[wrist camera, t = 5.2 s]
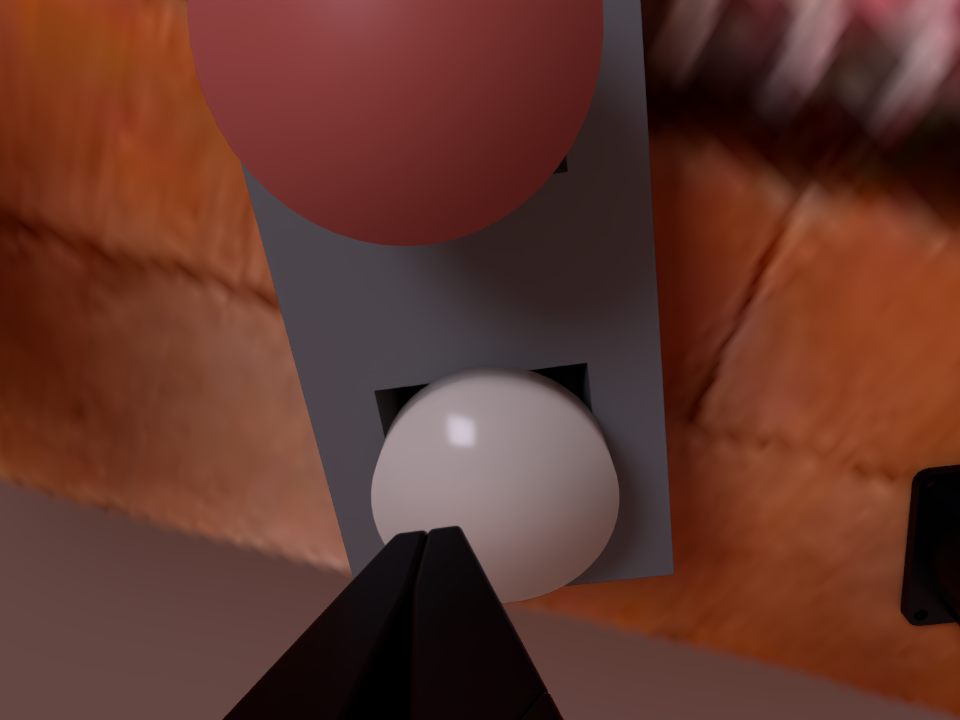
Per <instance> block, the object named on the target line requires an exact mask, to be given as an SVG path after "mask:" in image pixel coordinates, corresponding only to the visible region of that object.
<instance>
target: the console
mask: <svg viewBox="0 0 960 720" xmlns="http://www.w3.org/2000/svg"><path fill="white" fill-rule="evenodd" d="M603 33H604V35H603V45H602V55H601V65H600V69H599V74H598V78H597V83H596V87H595V92H594V95H593V98H592V101H591V104H590V106H589V109H588V112H587V115H586V118H585V121H584V123H583V125H582V127H581V129H580V131H579V133H578V135H577V137H576V139H575V141H574V143H573V145H572V146H571V148H570V149H569V151H568V152H567V154H566V156H565V157H564V159H563V160H562V162H561V163H560V165H559V166H558V168H557V169H556V170H555V171H554V172H553V174H552V175H551V176H550V177H549V178H548V179H547V181H546V182H545V183H544V184H543V185H542V186H541V188H540V189H538V190H537V191H536V192H535V193H534V194H533V195H532V196H531V197H530V198H529V199H527V200H526V201H525V202H524V203H523V204H522V205H521V206H519V207H518V208H516V209H515V210H513V211H512V212H511V213H509V214H508V215H506V216H505V217H503V218H502V219H501V220H499V221H497V222H495V223H493V224H491V225H489V226H487V227H485V228H483V229H481V230H479V231H477V232H474V233H471V234H468V235H466V236H463V237H460V238H457V239H454V240H449V241H445V242H440V243H435V244H429V245H417V246H392V245H380V244H375V243H369V242H364V241H358V240H355V239H352V238H349V237H346V236H343V235H339V234H336V233H334V232H332V231H329V230H327V229H325V228H323V227H321V226H319V225H316V224H314V223H312V222H310V221H309V220H307V219H306V218H304V217H302V216H301V215H299V214H297V213H296V212H294V211H293V210H291V209H290V208H288V207H287V206H286V205H285V204H283V203H282V202H281V201H280V200H278V199H277V198H276V197H274V196H273V195H272V194H271V193H270V192H269V191H268V190H267V189H266V188H265V187H264V186H263V185H262V184H261V183H260V182H259V181H258V180H257V179H256V178H255V177H254V176H253V175H252V174H251V173H250V172H249V171H248V170H247V168H246V167H245V166H244V164H243V163H242V162H241V165H242V168H243V172H244V176H245V180H246V183H247V187H248V191H249V194H250V198H251V202H252V205H253V209H254V213H255V217H256V220H257V224H258V228H259V231H260V235H261V239H262V242H263V246H264V250H265V253H266V257H267V261H268V265H269V268H270V272H271V276H272V279H273V283H274V287H275V290H276V294H277V298H278V301H279V305H280V309H281V313H282V316H283V320H284V324H285V327H286V331H287V335H288V338H289V342H290V346H291V350H292V353H293V357H294V361H295V364H296V368H297V372H298V375H299V379H300V383H301V386H302V390H303V394H304V398H305V401H306V405H307V409H308V412H309V416H310V420H311V423H312V427H313V431H314V435H315V438H316V442H317V446H318V449H319V453H320V457H321V460H322V464H323V468H324V471H325V475H326V479H327V483H328V486H329V490H330V494H331V497H332V501H333V505H334V508H335V512H336V516H337V520H338V523H339V527H340V531H341V534H342V538H343V542H344V545H345V549H346V553H347V556H348V560H349V564H350V568H351V571H352V575H353V579H354V578H355V577H356V576H357V575H358V574H359V573H360V572H361V571H362V570H363V569H364V568H365V567H366V566H367V564H368V563H369V562H370V561H371V560H372V559H373V558H374V557H375V556H376V555H377V554H378V553H379V552H380V551H381V550H382V548H383V547H384V546H385V544H384V542H383V540H382V538H381V536H380V534H379V532H378V530H377V527H376V524H375V521H374V517H373V511H372V505H371V488H372V481H373V475H374V472H375V468H376V465H377V462H378V459H379V456H380V453H381V450H382V447H383V444H384V441H385V438H386V435H387V432H388V430H389V428H390V426H391V424H392V422H393V420H394V419H395V417H396V416H397V414H398V413H399V411H400V410H401V408H402V407H403V406H404V405H405V404H406V403H407V402H408V401H409V399H410V398H412V397H413V396H414V395H415V394H416V393H417V392H419V391H420V390H421V389H423V388H424V387H426V386H427V385H429V384H430V383H432V382H433V381H435V380H438V379H440V378H442V377H444V376H446V375H448V374H451V373H454V372H457V371H461V370H465V369H470V368H475V367H484V366H506V367H514V368H520V369H525V370H535V369H542V368H550V367H551V369H552V370H553V372H554V373H555V374H556V376H557V378H558V380H559V382H560V384H561V385H562V386H564V387H566V388H567V389H568V390H570V391H571V392H572V393H573V394H575V395H576V396H577V397H578V398H579V399H580V400H581V401H582V402H583V403H584V404H585V405H586V406H587V407H588V408H589V410H590V411H591V413H592V414H593V416H594V417H595V418H596V420H597V422H598V424H599V426H600V428H601V430H602V432H603V435H604V438H605V441H606V444H607V447H608V450H609V453H610V456H611V459H612V462H613V465H614V468H615V471H616V474H617V480H618V486H619V509H618V516H617V520H616V523H615V527H614V530H613V532H612V534H611V537H610V539H609V541H608V543H607V545H606V546H605V548H604V549H603V551H602V552H601V554H600V555H599V556H598V558H597V559H596V560H595V561H594V562H593V563H592V564H591V566H590V567H588V568H587V569H586V570H585V571H584V572H583V573H582V574H581V575H579V576H578V577H576V578H575V579H574V580H572V581H571V582H569V583H568V584H566V585H564V586H569V585H578V584H588V583H597V582H607V581H616V580H625V579H635V578H644V577H654V576H663V575H672V574H674V566H673V548H672V531H671V514H670V497H669V480H668V463H667V446H666V429H665V412H664V395H663V378H662V361H661V343H660V326H659V309H658V292H657V275H656V258H655V241H654V224H653V207H652V190H651V173H650V156H649V138H648V121H647V104H646V87H645V70H644V53H643V36H642V19H641V2H640V0H603Z"/></svg>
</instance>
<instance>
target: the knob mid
mask: <svg viewBox="0 0 960 720" xmlns="http://www.w3.org/2000/svg"><path fill="white" fill-rule="evenodd" d="M188 24H189V34H190V44H191V49H192V54H193V58H194V63H195V67H196V72H197V76H198V79H199V81H200V84H201V87H202V90H203V93H204V96H205V99H206V102H207V104H208V106H209V108H210V110H211V113H212V115H213V117H214V119H215V121H216V123H217V125H218V127H219V129H220V131H221V132H222V134H223V136H224V137H225V139H226V140H227V142H228V144H229V145H230V147H231V148H232V150H233V152H234V153H235V154H236V156H237V157H238V158H239V159H240V161H241V162H242V163H243V164H244V166H245V167H246V168H247V170H248V171H249V172H250V173H251V174H252V175H253V176H254V177H255V178H256V179H257V180H258V181H259V182H260V183H261V184H262V185H263V186H264V187H265V188H266V189H267V190H268V191H269V192H270V193H271V194H272V195H273V196H274V197H276V198H277V199H278V200H280V201H281V202H282V203H283V204H285V205H286V206H287V207H288V208H290V209H291V210H293V211H294V212H296V213H297V214H299V215H301V216H302V217H304V218H306V219H307V220H309V221H310V222H312V223H314V224H316V225H319V226H321V227H323V228H325V229H327V230H329V231H332V232H334V233H336V234H339V235H343V236H346V237H349V238H352V239H355V240H358V241H364V242H369V243H375V244H380V245H392V246H417V245H429V244H435V243H440V242H445V241H449V240H454V239H457V238H460V237H463V236H466V235H468V234H471V233H474V232H477V231H479V230H481V229H483V228H485V227H487V226H489V225H491V224H493V223H495V222H497V221H499V220H501V219H502V218H503V217H505V216H506V215H508V214H509V213H511V212H512V211H513V210H515V209H516V208H518V207H519V206H521V205H522V204H523V203H524V202H525V201H526V200H527V199H529V198H530V197H531V196H532V195H533V194H534V193H535V192H536V191H537V190H538V189H540V188H541V186H542V185H543V184H544V183H545V182H546V181H547V179H548V178H549V177H550V176H551V175H552V174H553V172H554V171H555V170H556V169H557V168H558V166H559V165H560V163H561V162H562V160H563V159H564V157H565V156H566V154H567V152H568V151H569V149H570V148H571V146H572V145H573V143H574V141H575V139H576V137H577V135H578V133H579V131H580V129H581V127H582V125H583V123H584V121H585V118H586V115H587V112H588V109H589V106H590V104H591V101H592V98H593V95H594V92H595V87H596V83H597V78H598V74H599V69H600V65H601V55H602V45H603V35H604V33H603V0H188Z"/></svg>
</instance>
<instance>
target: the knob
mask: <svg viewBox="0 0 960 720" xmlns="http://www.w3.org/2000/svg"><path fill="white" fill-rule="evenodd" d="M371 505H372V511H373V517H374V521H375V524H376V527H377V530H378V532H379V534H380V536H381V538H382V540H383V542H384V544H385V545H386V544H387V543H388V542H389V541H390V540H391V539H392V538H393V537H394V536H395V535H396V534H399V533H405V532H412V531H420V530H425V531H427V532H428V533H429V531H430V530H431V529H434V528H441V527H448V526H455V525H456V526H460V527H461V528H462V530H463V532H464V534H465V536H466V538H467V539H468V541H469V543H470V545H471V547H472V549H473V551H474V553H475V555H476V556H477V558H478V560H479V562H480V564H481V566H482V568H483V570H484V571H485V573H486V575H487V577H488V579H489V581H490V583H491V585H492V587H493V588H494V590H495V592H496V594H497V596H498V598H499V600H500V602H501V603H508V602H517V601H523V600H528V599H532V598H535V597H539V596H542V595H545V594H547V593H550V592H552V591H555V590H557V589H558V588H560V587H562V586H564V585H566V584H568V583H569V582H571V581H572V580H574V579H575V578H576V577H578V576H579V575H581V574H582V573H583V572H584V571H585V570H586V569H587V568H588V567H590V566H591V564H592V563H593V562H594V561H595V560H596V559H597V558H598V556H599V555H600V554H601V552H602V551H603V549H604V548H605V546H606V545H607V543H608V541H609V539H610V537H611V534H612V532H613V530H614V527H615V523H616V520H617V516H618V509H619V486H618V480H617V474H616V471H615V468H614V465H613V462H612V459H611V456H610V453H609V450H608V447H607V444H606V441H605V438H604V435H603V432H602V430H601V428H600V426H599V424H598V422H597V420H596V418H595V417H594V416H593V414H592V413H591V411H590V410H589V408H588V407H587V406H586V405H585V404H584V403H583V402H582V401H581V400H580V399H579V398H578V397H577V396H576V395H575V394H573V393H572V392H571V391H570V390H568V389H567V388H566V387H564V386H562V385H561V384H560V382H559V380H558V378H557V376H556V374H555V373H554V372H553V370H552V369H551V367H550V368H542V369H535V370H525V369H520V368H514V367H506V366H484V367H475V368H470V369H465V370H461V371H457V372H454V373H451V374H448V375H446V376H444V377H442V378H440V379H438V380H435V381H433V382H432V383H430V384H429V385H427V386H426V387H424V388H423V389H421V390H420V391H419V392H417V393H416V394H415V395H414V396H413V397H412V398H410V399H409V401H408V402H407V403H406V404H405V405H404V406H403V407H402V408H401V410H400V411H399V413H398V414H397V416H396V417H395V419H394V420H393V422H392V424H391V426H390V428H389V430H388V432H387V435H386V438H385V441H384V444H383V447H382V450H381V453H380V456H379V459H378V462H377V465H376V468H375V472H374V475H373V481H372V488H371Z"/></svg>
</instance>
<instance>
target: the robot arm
mask: <svg viewBox="0 0 960 720" xmlns="http://www.w3.org/2000/svg"><path fill="white" fill-rule="evenodd" d="M932 481H935V482H934V484H932V485H931V486H929V487H927V486H928V484H929V483H930V482H932ZM918 610H919V611H918ZM917 611H918V612H917ZM901 613H902V614H903V615H904V617H905V618H906V619H907V620H908V622H909V623H910V624H912V625H916V626H922V625H932V624H942V623H953V622H956V623H957V624H958V625H959V626H960V465H951V466H943V467H934V468H927V469H924V470H922V471H920V472H918V473H917V474H916V476H915V477H914V479H913V482H912V492H911V502H910V513H909V524H908V535H907V546H906V556H905V567H904V578H903V589H902V599H901ZM223 720H564V719H563V717H562V716H561V714H560V712H559V710H558V708H557V706H556V705H555V703H554V701H553V699H552V697H551V695H550V694H549V693H548V691H547V688H546V686H545V685H544V683H543V681H542V679H541V677H540V675H539V673H538V671H537V670H536V668H535V666H534V664H533V662H532V660H531V658H530V656H529V654H528V653H527V651H526V649H525V647H524V645H523V643H522V642H521V639H520V637H519V636H518V634H517V632H516V630H515V628H514V626H513V624H512V622H511V621H510V619H509V617H508V615H507V613H506V611H505V609H504V607H503V605H502V603H501V602H500V600H499V598H498V596H497V594H496V592H495V590H494V588H493V587H492V585H491V583H490V581H489V579H488V577H487V575H486V573H485V571H484V570H483V568H482V566H481V564H480V562H479V560H478V558H477V556H476V555H475V553H474V551H473V549H472V547H471V545H470V543H469V541H468V539H467V538H466V536H465V534H464V532H463V530H462V528H461V527H460V526H456V525H455V526H448V527H441V528H434V529H431V530H430V531H429V533H428V532H427V531H425V530H420V531H412V532H405V533H399V534H396V535H395V536H394V537H393V538H392V539H391V540H390V541H389V542H388V543H387V544H386V545H385V546H384V547H383V548H382V550H381V551H380V552H379V553H378V554H377V555H376V556H375V557H374V558H373V559H372V560H371V561H370V562H369V563H368V564H367V566H366V567H365V568H364V569H363V570H362V571H361V572H360V573H359V574H358V575H357V576H356V577H355V578H354V579H353V581H352V582H351V583H350V584H349V585H348V586H347V587H346V588H345V589H344V590H343V591H342V592H341V593H340V594H339V595H338V597H337V598H336V599H335V600H334V601H333V602H332V603H331V604H330V605H329V606H328V607H327V608H326V609H325V610H324V612H323V613H322V614H321V615H320V616H319V617H318V618H317V619H316V620H315V621H314V622H313V623H312V624H311V625H310V626H309V628H308V629H307V630H306V631H305V632H304V633H303V634H302V635H301V636H300V637H299V638H298V639H297V640H296V641H295V643H294V644H293V645H292V646H291V647H290V648H289V649H288V650H287V651H286V652H285V653H284V654H283V655H282V657H281V658H280V659H279V660H278V661H277V662H276V663H275V664H274V665H273V666H272V667H271V668H270V669H269V670H268V671H267V672H266V674H265V675H264V676H263V677H262V678H261V679H260V680H259V681H258V682H257V683H256V684H255V685H254V686H253V687H252V689H251V690H250V691H249V692H248V693H247V694H246V695H245V696H244V697H243V698H242V699H241V700H240V701H239V703H237V704H236V706H235V707H234V708H233V709H232V710H231V711H230V712H229V713H228V714H227V715H226V716H225V717H224V719H223Z"/></svg>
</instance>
